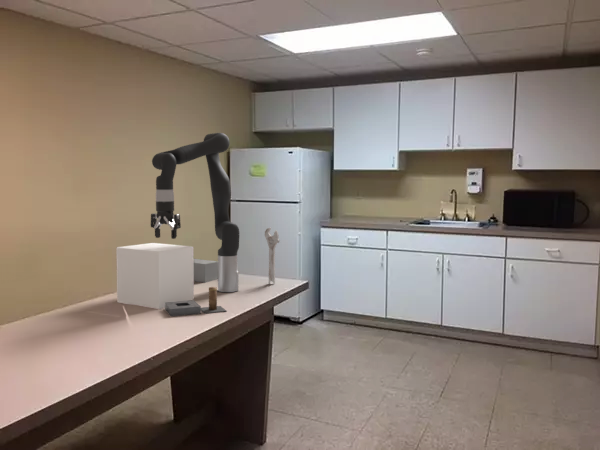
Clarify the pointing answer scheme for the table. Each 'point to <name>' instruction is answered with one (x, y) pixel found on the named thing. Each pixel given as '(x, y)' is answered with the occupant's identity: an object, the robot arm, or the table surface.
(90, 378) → the table surface
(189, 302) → the gray square frame
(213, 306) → the wooden peg
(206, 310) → the mat
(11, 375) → the table surface
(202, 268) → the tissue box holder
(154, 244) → the cube
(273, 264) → the wrench
